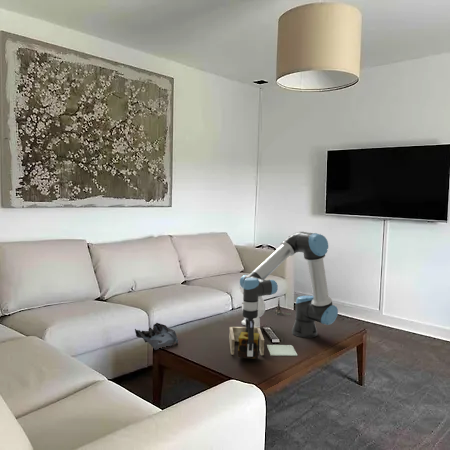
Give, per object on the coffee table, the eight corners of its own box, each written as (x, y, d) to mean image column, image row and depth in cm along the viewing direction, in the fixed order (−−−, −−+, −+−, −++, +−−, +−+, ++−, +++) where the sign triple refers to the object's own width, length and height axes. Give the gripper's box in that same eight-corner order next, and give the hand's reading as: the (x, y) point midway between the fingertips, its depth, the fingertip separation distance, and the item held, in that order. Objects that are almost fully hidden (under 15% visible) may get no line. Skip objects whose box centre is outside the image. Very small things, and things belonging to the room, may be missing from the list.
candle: (257, 359, 208) (258, 339, 208) (237, 357, 210) (237, 338, 209) (259, 352, 218) (260, 333, 218) (240, 350, 220) (241, 331, 219)
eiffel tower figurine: (291, 314, 298) (292, 296, 297) (285, 318, 289) (286, 298, 288) (272, 310, 306) (273, 292, 305) (266, 314, 298) (266, 295, 297)
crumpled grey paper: (150, 353, 219) (151, 336, 219) (133, 341, 235) (133, 325, 234) (180, 346, 231) (180, 329, 230) (161, 335, 246) (161, 320, 245)
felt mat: (292, 346, 235) (292, 345, 235) (297, 356, 221) (297, 354, 221) (266, 345, 234) (266, 344, 234) (270, 355, 220) (270, 354, 220)
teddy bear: (250, 333, 255) (252, 275, 252) (232, 325, 269) (234, 270, 266) (273, 327, 266) (275, 272, 263) (255, 320, 280) (256, 268, 277)
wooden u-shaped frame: (258, 340, 242) (259, 327, 241) (263, 355, 221) (264, 340, 220) (229, 340, 241) (229, 326, 240) (231, 354, 220) (231, 339, 219)
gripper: (241, 302, 224) (239, 343, 226) (244, 315, 201) (243, 360, 202) (255, 303, 224) (253, 343, 226) (260, 316, 201) (259, 361, 203)
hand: (248, 351), depth 214 cm, fingers closed on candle, 11 cm apart
